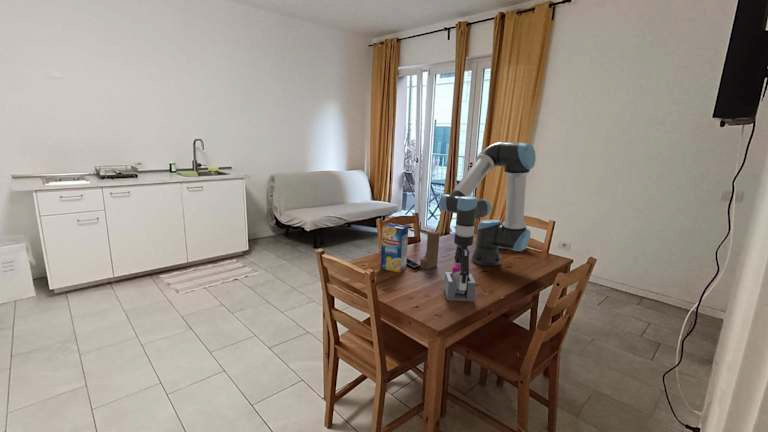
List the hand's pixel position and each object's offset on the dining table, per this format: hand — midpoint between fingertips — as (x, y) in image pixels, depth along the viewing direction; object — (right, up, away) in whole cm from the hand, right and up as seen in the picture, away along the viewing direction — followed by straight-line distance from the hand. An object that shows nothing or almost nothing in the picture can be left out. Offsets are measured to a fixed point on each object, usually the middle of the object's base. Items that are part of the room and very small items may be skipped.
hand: (459, 283), depth 155 cm
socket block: (0, -5, +1) cm, 5 cm away
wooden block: (-9, +2, +34) cm, 35 cm away
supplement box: (0, -4, +2) cm, 5 cm away
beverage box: (-27, +2, +29) cm, 40 cm away
